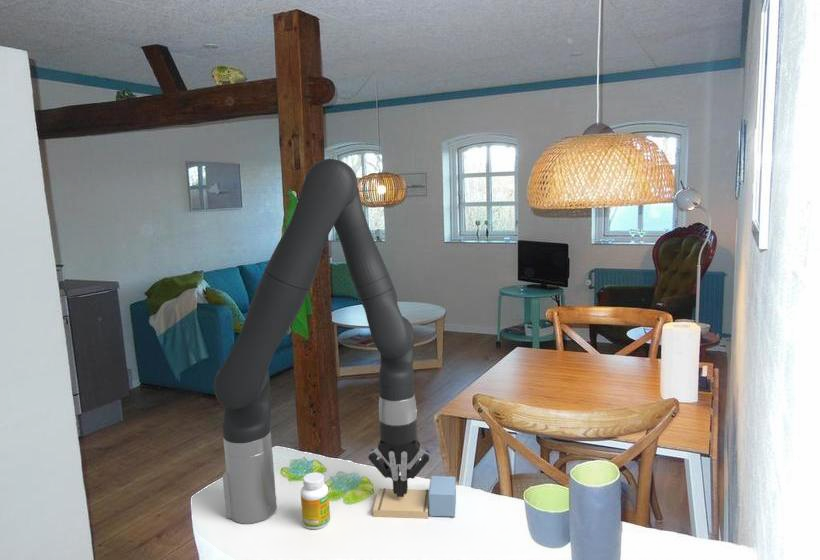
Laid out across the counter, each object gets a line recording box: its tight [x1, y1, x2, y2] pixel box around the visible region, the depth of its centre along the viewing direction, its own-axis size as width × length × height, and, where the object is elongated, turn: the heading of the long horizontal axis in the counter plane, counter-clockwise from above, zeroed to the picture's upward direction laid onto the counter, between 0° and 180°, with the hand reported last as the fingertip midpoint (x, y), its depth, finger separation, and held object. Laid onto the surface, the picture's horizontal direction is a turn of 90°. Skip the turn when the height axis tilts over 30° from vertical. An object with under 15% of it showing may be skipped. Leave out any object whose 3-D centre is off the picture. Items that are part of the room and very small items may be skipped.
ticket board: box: [372, 487, 430, 519], centre depth 122 cm, size 11×8×2 cm
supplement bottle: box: [300, 471, 331, 530], centre depth 117 cm, size 5×5×10 cm
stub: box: [428, 475, 457, 518], centre depth 121 cm, size 5×7×5 cm
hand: (400, 494), depth 122 cm, fingers closed
